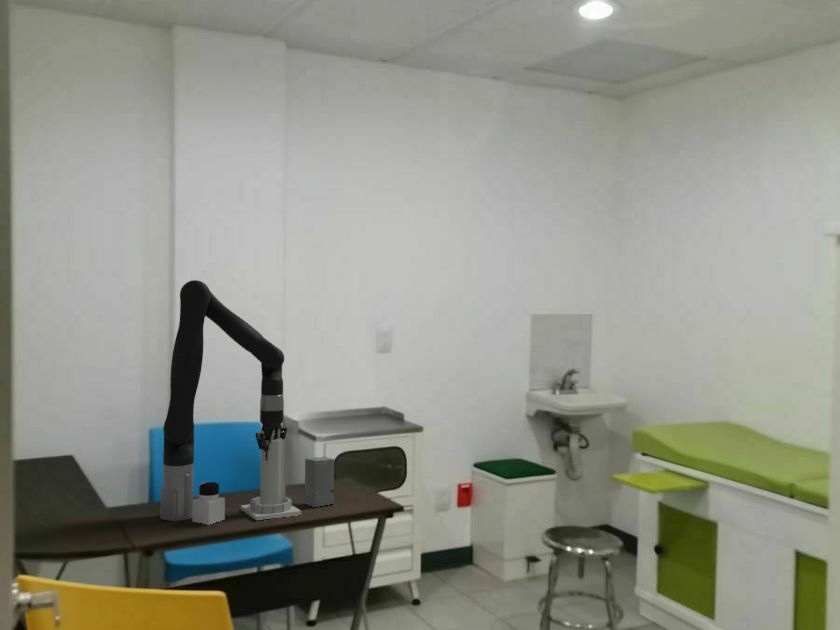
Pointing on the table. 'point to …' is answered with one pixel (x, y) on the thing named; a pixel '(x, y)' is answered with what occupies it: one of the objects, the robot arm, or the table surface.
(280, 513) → the collar socket
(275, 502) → the paper towel roll
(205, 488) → the medicine bottle
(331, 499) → the skincare box
